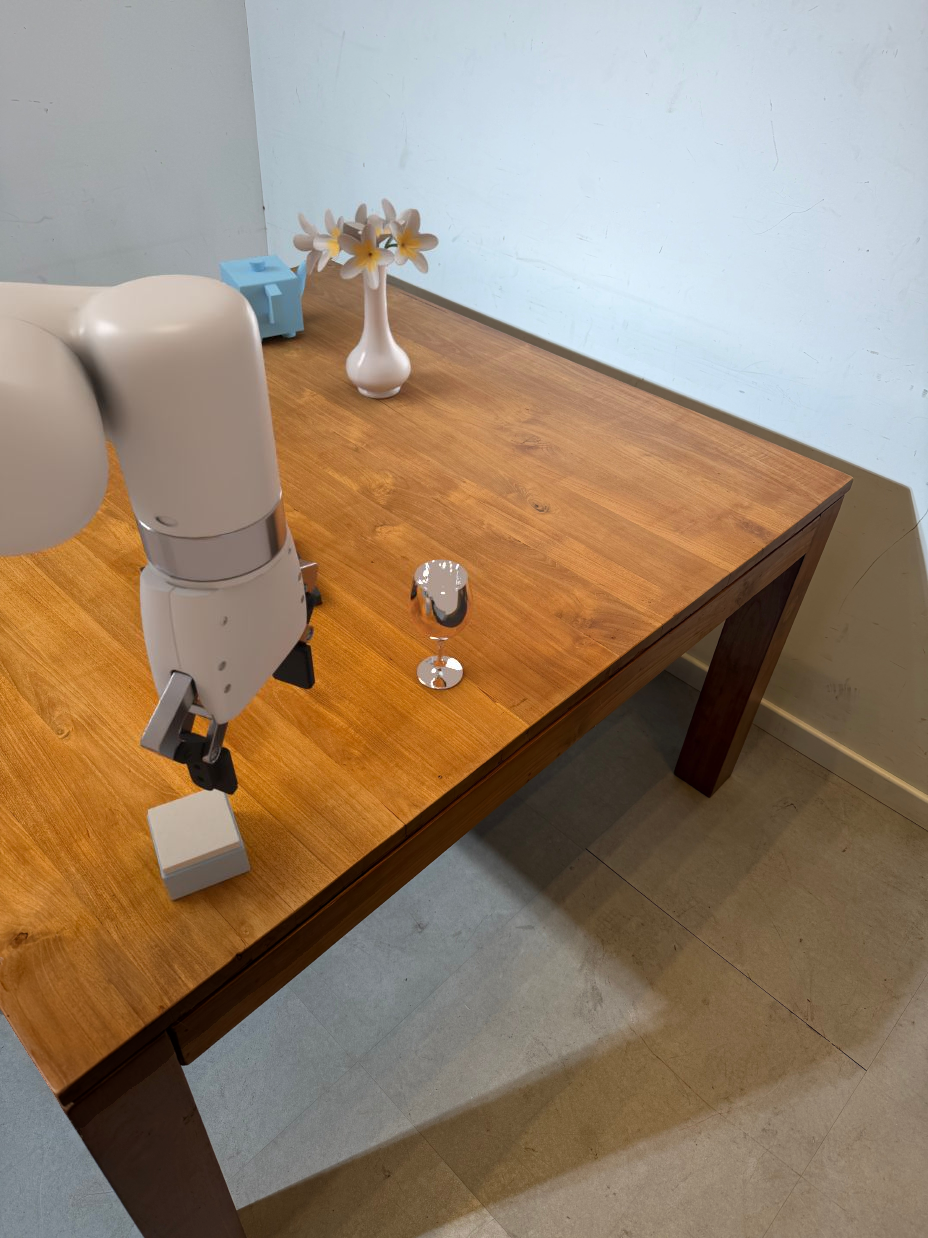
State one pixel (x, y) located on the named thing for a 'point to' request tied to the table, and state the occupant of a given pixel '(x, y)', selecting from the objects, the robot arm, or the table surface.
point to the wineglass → (440, 616)
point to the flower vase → (371, 284)
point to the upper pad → (197, 842)
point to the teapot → (269, 292)
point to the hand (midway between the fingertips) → (257, 730)
